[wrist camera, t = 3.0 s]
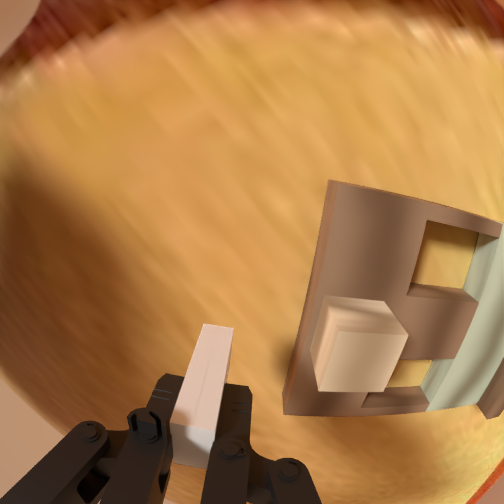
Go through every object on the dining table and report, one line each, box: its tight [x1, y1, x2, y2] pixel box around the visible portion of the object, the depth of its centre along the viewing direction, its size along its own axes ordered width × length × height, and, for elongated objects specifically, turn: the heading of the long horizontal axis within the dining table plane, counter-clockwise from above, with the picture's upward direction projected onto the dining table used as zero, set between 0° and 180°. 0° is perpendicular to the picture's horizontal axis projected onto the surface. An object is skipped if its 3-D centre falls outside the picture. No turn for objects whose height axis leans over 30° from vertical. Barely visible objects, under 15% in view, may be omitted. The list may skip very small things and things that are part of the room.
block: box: [310, 295, 408, 392], centre depth 17 cm, size 4×4×4 cm
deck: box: [282, 180, 504, 419], centre depth 18 cm, size 22×17×5 cm
